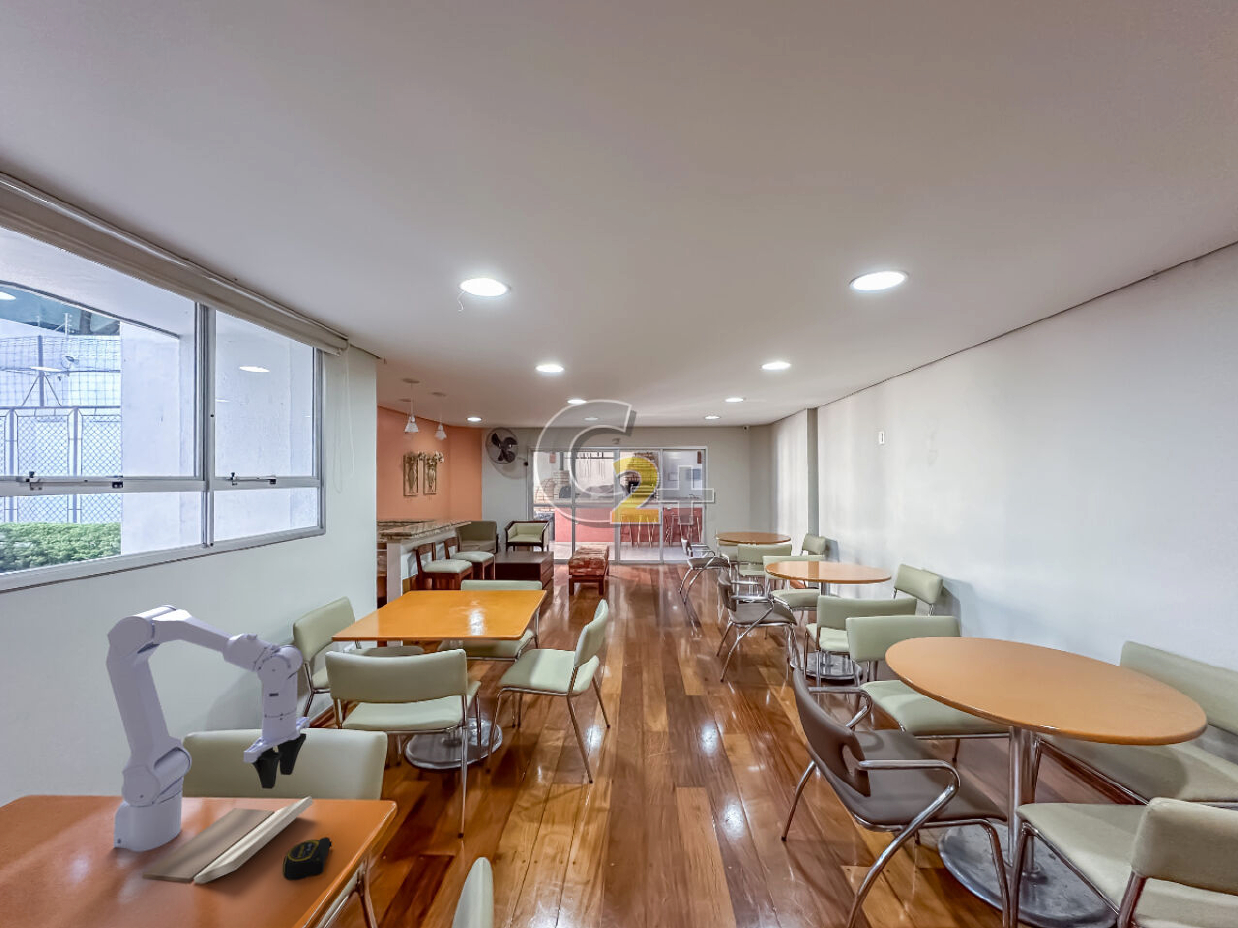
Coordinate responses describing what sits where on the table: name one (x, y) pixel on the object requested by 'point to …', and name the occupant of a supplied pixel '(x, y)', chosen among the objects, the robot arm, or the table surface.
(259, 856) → the table surface
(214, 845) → the grey rectangular panel
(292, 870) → the tape measure
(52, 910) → the table surface
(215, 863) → the plank
